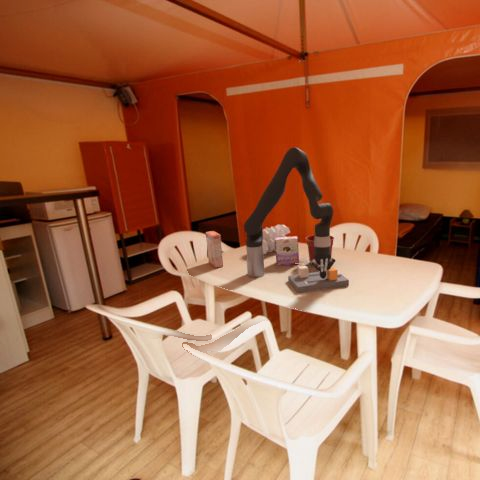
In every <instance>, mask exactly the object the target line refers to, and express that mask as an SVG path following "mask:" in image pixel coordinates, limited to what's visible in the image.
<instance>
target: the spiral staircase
mask: <svg viewBox="0 0 480 480" xmlns="http://www.w3.org/2000/svg"><path fill="white" fill-rule="evenodd" d="M262 229H263V255H267V253H273V251H274V252H276V248H275V238H276V237H287V236H286V235H288V234H290V233H291V231H290V227H288V226H286V225H285V224H278V223H277V225H275V226H272V225H271V226H270V227H267V226H266V227H265V228H262Z"/></svg>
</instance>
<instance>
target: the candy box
mask: <svg viewBox="0 0 480 480" xmlns="http://www.w3.org/2000/svg"><path fill="white" fill-rule="evenodd" d="M275 248H276V251H275V260H276V261H275V262H276V263H275V264H276V266H287V265H288V266H290V265H296V264H295V263H299V264H300V255H299V238H298V236H297V235H295V236H286V237H276V238H275Z"/></svg>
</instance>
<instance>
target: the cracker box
mask: <svg viewBox="0 0 480 480" xmlns="http://www.w3.org/2000/svg"><path fill="white" fill-rule="evenodd" d="M221 236H222V235H221V234H220V233H218V232H217V231H215V230H211V231H206V232H205V238H206V248H207V258H208V263H209V264H210V265H211V266H212V267H213V268H214V267H215V268H214V269H217V267H218V268H221V267H222V266H223V267H224V260H223V247H222V237H221ZM223 267H222V268H223Z"/></svg>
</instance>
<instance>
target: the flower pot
mask: <svg viewBox="0 0 480 480" xmlns="http://www.w3.org/2000/svg"><path fill="white" fill-rule="evenodd" d="M314 239H315V234H312V235H307V236H306V237H305V240H306V245H307V251H308V257H309V259H308V260H309V262H310V261H312V260H313V259H314V256H315V245H314ZM334 241H335V236H333V235H330V242H331V244H330V250H331V253H330V255H331V256H332V252H333V245H334ZM315 262H316V261H315ZM328 263H329V262H328ZM328 263H327V264H328ZM315 265H316V266H318V263H317V262H316V264H315ZM318 267H319V266H318Z"/></svg>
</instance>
